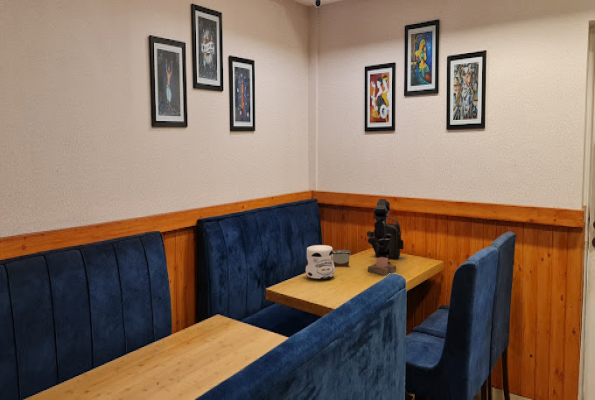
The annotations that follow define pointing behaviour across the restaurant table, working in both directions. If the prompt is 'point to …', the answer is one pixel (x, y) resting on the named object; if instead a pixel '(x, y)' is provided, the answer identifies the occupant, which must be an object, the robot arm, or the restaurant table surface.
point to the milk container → (320, 262)
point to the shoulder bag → (394, 241)
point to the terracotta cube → (381, 262)
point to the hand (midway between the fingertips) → (380, 252)
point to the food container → (341, 258)
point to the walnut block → (382, 269)
